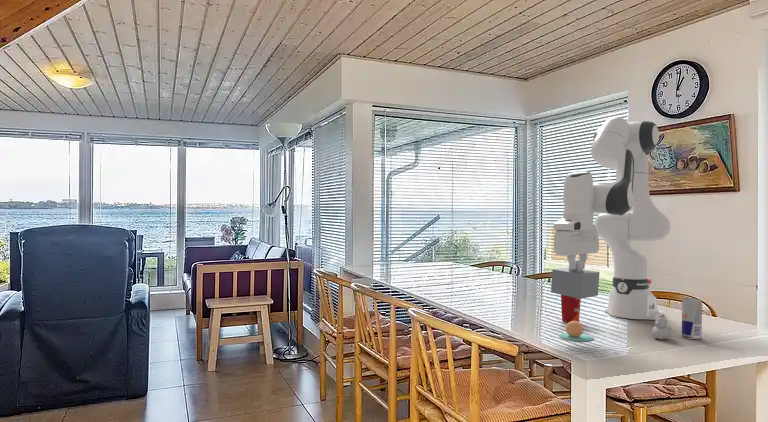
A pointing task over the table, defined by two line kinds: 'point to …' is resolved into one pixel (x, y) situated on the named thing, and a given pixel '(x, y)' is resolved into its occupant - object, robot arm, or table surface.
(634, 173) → the robot arm
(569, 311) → the paper cup
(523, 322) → the table surface
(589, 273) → the grey rectangular box
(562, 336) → the disc
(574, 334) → the ball
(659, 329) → the rubber duck
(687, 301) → the energy drink
